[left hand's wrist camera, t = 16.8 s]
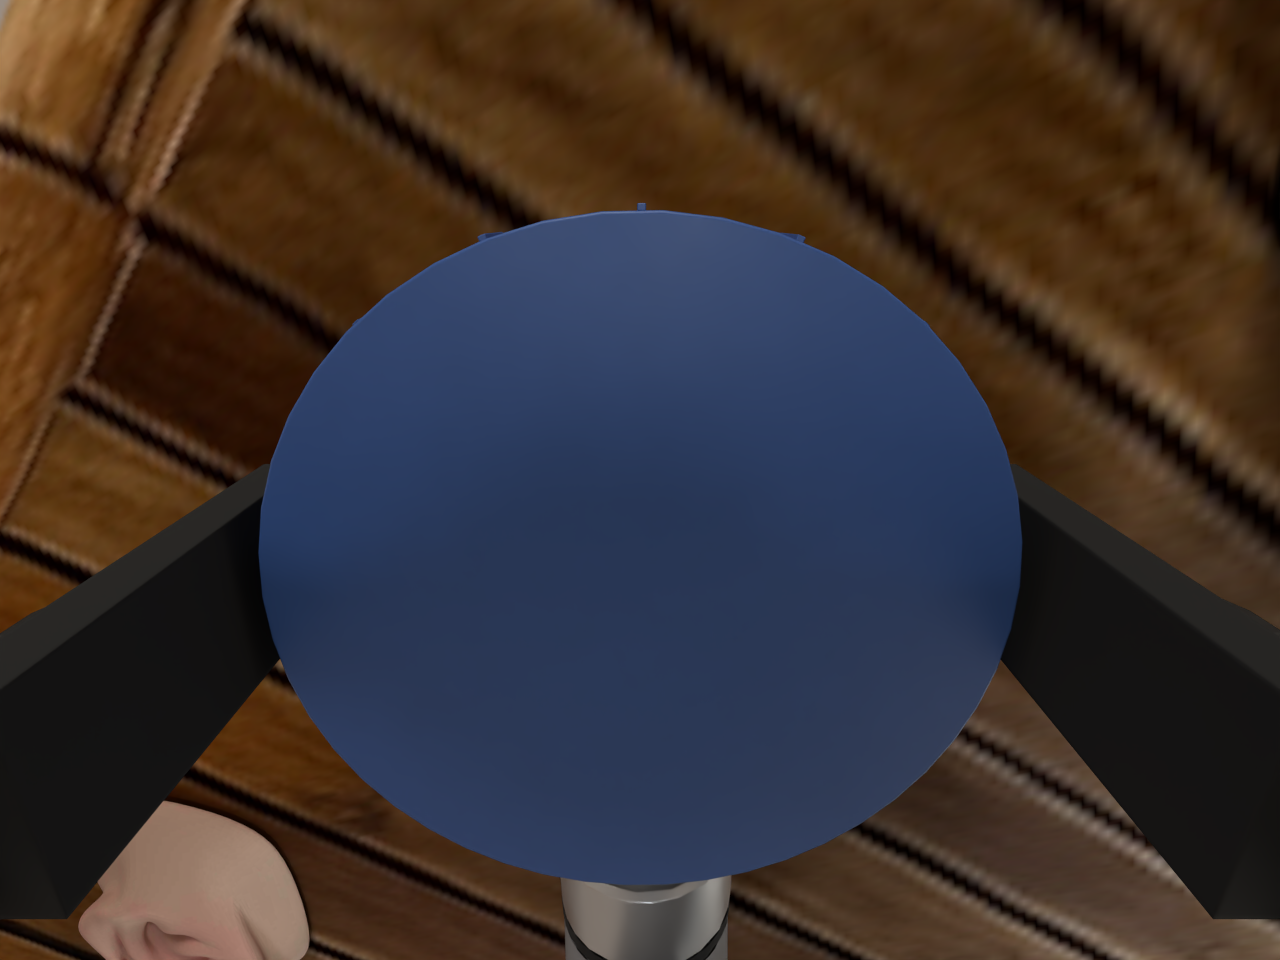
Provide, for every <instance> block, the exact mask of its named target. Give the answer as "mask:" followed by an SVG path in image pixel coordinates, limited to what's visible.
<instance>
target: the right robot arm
mask: <svg viewBox="0 0 1280 960" xmlns="http://www.w3.org/2000/svg"><path fill="white" fill-rule="evenodd" d="M561 888H562V903H563V911H564V918H565V948H566V960H727V943H728V911H729V897H730V890H731V875H730V876H725V877H720V878H715V879H710V880H704V881H695V882H686V883H676V884H667V885H618V884H606V883H594V882H583V881H578V880H572V879H566V878H561Z"/></svg>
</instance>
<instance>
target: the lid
mask: <svg viewBox="0 0 1280 960" xmlns="http://www.w3.org/2000/svg"><path fill="white" fill-rule="evenodd" d="M478 239H479V242H478V243H476V244H474V245H471V246H469V247H467V248H465V249H463V250H461V251H459V252H457V253H455V254H453V255H450V256H448V257H446V258H444V259H442V260H440V261H438V262H436V263H434V264H432V265H431V266H429V267H428V268H426V269H425V270H423V271H422V272H420V273H419V274H417V275H416V276H414V277H413V278H411V279H410V280H408V281H407V282H405V283H404V284H402V285H401V286H399V287H398V288H396V289H395V290H393V291H392V292H390V293H389V294H387V295H386V296H385V297H384V298H383V299H382V300H381V301H380V302H379V303H377V304H376V305H375V306H374V307H373V308H372V309H371V310H370V311H369V312H368V313H366V314H365V315H364V316H363V317H362V318H360V319H358V320H356V321H355V322H354V323H353V326H352V327H351V328H350V329H349V330H348V331H347V332H346V333H345V334H344V336H343V337H342V338H341V339H340V341H339V342H338V343H337V344H336V345H335V347H334V348H333V349H332V350H331V352H330V353H329V354H328V355H327V357H326V358H325V359H324V360H323V362H322V363H321V364H320V365H319V367H318V368H317V369H316V370H315V371H314V373H313V375H312V376H311V378H310V380H309V382H308V383H307V385H306V387H305V389H304V390H303V392H302V394H301V395H300V397H299V399H298V401H297V402H296V404H295V406H294V408H293V409H292V411H291V413H290V414H289V416H288V419H287V422H286V424H285V427H284V429H283V432H282V435H281V437H280V440H279V442H278V445H277V447H276V450H275V453H274V455H273V458H272V460H271V465H270V469H269V474H268V478H267V483H266V488H265V492H264V497H263V502H262V506H261V519H260V536H259V564H260V575H261V586H262V597H263V601H264V605H265V610H266V614H267V618H268V622H269V626H270V630H271V634H272V639H273V641H274V644H275V646H276V649H277V652H278V654H279V657H280V659H281V662H282V664H283V667H284V669H285V672H286V674H287V677H288V679H289V681H290V683H291V685H292V686H293V688H294V690H295V692H296V694H297V695H298V697H299V699H300V701H301V702H302V704H303V706H304V708H305V710H306V711H307V713H308V715H309V717H310V718H311V719H312V721H313V722H314V723H315V725H316V726H317V727H318V729H319V730H320V731H321V733H322V734H323V735H324V737H325V738H326V739H327V741H328V742H329V743H330V745H331V746H332V747H333V749H334V750H335V751H336V752H337V753H338V754H339V755H340V756H341V757H342V758H343V760H344V761H345V762H346V763H347V764H348V765H349V766H350V767H351V768H352V769H353V770H354V771H355V772H356V773H357V774H358V775H359V776H360V777H361V778H362V779H363V780H364V781H365V782H366V783H367V784H368V785H370V786H371V787H372V788H373V789H374V790H376V791H377V792H378V793H379V794H380V795H382V796H383V797H384V798H385V799H386V800H388V801H389V802H390V803H391V804H392V805H394V806H395V807H396V808H398V809H399V810H401V811H402V812H404V813H406V814H407V815H409V816H410V817H412V818H413V819H415V820H416V821H418V822H419V823H421V824H422V825H424V826H425V827H427V828H428V829H430V830H432V831H434V832H436V833H438V834H440V835H441V836H443V837H445V838H447V839H449V840H451V841H453V842H455V843H457V844H459V845H461V846H463V847H465V848H467V849H469V850H472V851H474V852H477V853H480V854H482V855H485V856H487V857H490V858H492V859H495V860H497V861H500V862H502V863H505V864H509V865H512V866H516V867H519V868H523V869H526V870H530V871H533V872H537V873H541V874H544V875H550V876H555V877H561V878H566V879H572V880H578V881H583V882H594V883H606V884H618V885H667V884H676V883H686V882H695V881H704V880H710V879H715V878H720V877H725V876H730V875H735V874H739V873H744V872H749V871H752V870H755V869H758V868H761V867H765V866H768V865H771V864H774V863H777V862H781V861H784V860H787V859H789V858H792V857H794V856H796V855H799V854H801V853H803V852H806V851H808V850H811V849H813V848H815V847H818V846H820V845H822V844H825V843H826V842H828V841H830V840H832V839H834V838H836V837H837V836H839V835H841V834H843V833H845V832H846V831H848V830H850V829H852V828H854V827H855V826H857V825H859V824H861V823H862V822H864V821H865V820H867V819H868V818H869V817H871V816H872V815H874V814H875V813H877V812H878V811H879V810H881V809H882V808H884V807H885V806H887V805H888V804H889V803H891V802H892V801H894V800H895V799H896V798H897V797H898V796H899V795H901V794H902V793H903V792H904V791H905V790H906V789H907V788H909V787H910V786H911V785H912V784H913V783H914V782H915V781H916V780H918V779H919V778H920V777H921V776H922V775H923V774H924V773H926V771H927V770H928V769H929V768H930V767H931V766H932V765H933V764H934V763H935V761H936V760H937V759H938V758H939V757H940V756H941V755H942V754H943V752H944V751H945V750H946V749H947V748H948V747H949V746H950V745H951V744H952V742H953V741H954V740H955V738H956V737H957V736H958V734H959V733H960V731H961V730H962V728H963V727H964V725H965V724H966V723H967V721H968V720H969V718H970V717H971V715H972V714H973V713H974V711H975V710H976V708H977V707H978V705H979V703H980V701H981V699H982V697H983V695H984V693H985V691H986V689H987V687H988V685H989V684H990V682H991V680H992V678H993V676H994V674H995V672H996V670H997V668H998V665H999V662H1000V659H1001V656H1002V654H1003V651H1004V648H1005V645H1006V642H1007V640H1008V637H1009V634H1010V631H1011V628H1012V623H1013V618H1014V613H1015V608H1016V603H1017V598H1018V593H1019V588H1020V576H1021V558H1022V533H1021V523H1020V513H1019V502H1018V494H1017V490H1016V487H1015V483H1014V479H1013V475H1012V471H1011V467H1010V463H1009V459H1008V456H1007V452H1006V448H1005V446H1004V444H1003V441H1002V439H1001V437H1000V435H999V432H998V430H997V428H996V425H995V423H994V421H993V418H992V416H991V414H990V411H989V409H988V407H987V405H986V403H985V401H984V400H983V398H982V397H981V395H980V393H979V392H978V390H977V389H976V387H975V385H974V384H973V382H972V381H971V379H970V378H969V376H968V374H967V373H966V371H965V370H964V368H963V367H962V365H961V363H960V362H959V361H958V359H957V358H956V357H955V356H954V355H953V354H952V353H951V351H950V350H949V349H948V348H947V347H946V346H945V344H944V343H943V342H942V341H941V340H940V339H939V338H938V336H937V335H936V334H935V333H934V332H933V331H932V330H931V328H930V326H929V325H928V324H927V322H926V321H923V320H922V319H921V318H920V317H918V316H917V315H916V314H915V313H914V312H913V311H911V310H910V309H909V308H908V307H907V306H905V305H904V304H903V303H902V302H901V301H900V300H898V299H897V298H896V297H895V296H894V295H892V294H891V293H890V292H889V291H888V290H887V289H885V288H884V287H883V286H881V285H880V284H878V283H877V282H875V281H873V280H872V279H870V278H869V277H867V276H865V275H864V274H862V273H860V272H859V271H857V270H856V269H854V268H852V267H851V266H849V265H847V264H846V263H844V262H843V261H841V260H839V259H838V258H836V257H835V256H832V255H830V254H828V253H825V252H823V251H821V250H818V249H816V248H814V247H811V246H809V245H807V244H804V240H805V237H803V236H801V235H797V234H787V233H778V232H774V231H770V230H767V229H763V228H759V227H756V226H752V225H748V224H745V223H741V222H737V221H734V220H730V219H726V218H722V217H714V216H705V215H697V214H689V213H681V212H673V211H665V210H651V211H646V203H638V204H637V211H602V212H595V213H589V214H583V215H577V216H570V217H564V218H558V219H552V220H545V221H541V222H538V223H535V224H531V225H528V226H525V227H522V228H518V229H515V230H512V231H509V232H505V233H503V232H498V233H487V234H483V235H480V236H478Z"/></svg>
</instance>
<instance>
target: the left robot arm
mask: <svg viewBox="0 0 1280 960" xmlns="http://www.w3.org/2000/svg"><path fill="white" fill-rule="evenodd" d="M1279 217H1280V181H1279ZM270 465H271V464H264V465H262V466H261V467H259V468H258V469H256V470H254V471H253V472H251V473H250V474H248V475H247V476H245V477H244V478H242V479H241V480H239V481H238V482H236V483H235V484H233V485H232V486H230V487H228V488H227V489H225V490H224V491H222V492H221V493H219V494H218V495H216V496H215V497H213V498H212V499H210V500H209V501H207V502H206V503H204V504H202V505H201V506H199V507H198V508H196V509H195V510H193V511H192V512H190V513H189V514H187V515H186V516H184V517H183V518H181V519H180V520H178V521H176V522H175V523H173V524H172V525H170V526H169V527H167V528H166V529H164V530H163V531H161V532H160V533H158V534H157V535H155V536H154V537H152V538H150V539H149V540H147V541H146V542H144V543H143V544H141V545H140V546H138V547H137V548H135V549H134V550H132V551H131V552H129V553H128V554H126V555H124V556H123V557H121V558H120V559H118V560H117V561H115V562H114V563H112V564H111V565H109V566H108V567H106V568H105V569H103V570H102V571H100V572H98V573H97V574H95V575H94V576H92V577H91V578H89V579H88V580H86V581H85V582H83V583H82V584H80V585H79V586H77V587H76V588H74V589H72V590H71V591H69V592H68V593H66V594H65V595H63V596H62V597H60V598H59V599H57V600H56V601H54V602H53V603H51V604H50V605H48V606H46V607H45V608H43V609H40V610H38V611H36V612H33V613H31V614H29V615H28V616H26V617H25V618H23V619H22V620H20V621H19V622H17V623H16V624H14V625H13V626H11V627H9V628H8V629H6V630H5V631H3V632H2V633H0V919H67V918H68V917H69V916H70V915H71V913H72V912H73V911H74V910H75V908H76V907H77V906H78V905H79V904H80V902H81V901H82V900H83V899H84V897H85V896H86V895H87V894H88V893H89V891H90V890H91V889H92V888H93V886H94V885H95V884H96V883H97V882H98V880H99V879H100V878H101V877H102V875H103V874H104V873H105V872H106V871H107V869H108V868H109V867H110V866H111V864H112V863H113V862H114V861H115V860H116V858H117V857H118V856H119V855H120V853H121V852H122V851H123V850H124V849H125V847H126V846H127V845H128V844H129V842H130V841H131V840H132V839H133V838H134V836H135V835H136V834H137V833H138V831H139V830H140V829H141V828H142V827H143V825H144V824H145V823H146V822H147V820H148V819H149V818H150V817H151V816H152V814H153V813H154V812H155V811H156V809H157V808H158V807H159V806H160V805H161V803H162V802H163V801H164V800H165V798H166V797H167V796H168V795H169V794H170V792H171V791H172V790H173V789H174V787H175V786H176V785H177V784H178V783H179V781H180V780H181V779H182V778H183V776H184V775H185V774H186V773H187V772H188V770H189V769H190V768H191V767H192V765H193V764H194V763H195V762H196V761H197V759H198V758H199V757H200V756H201V754H202V753H203V752H204V751H205V750H206V748H207V747H208V746H209V745H210V743H211V742H212V741H213V740H214V739H215V737H216V736H217V735H218V734H219V732H220V731H221V730H222V729H223V728H224V726H225V725H226V724H227V723H228V721H229V720H230V719H231V718H232V717H233V715H234V714H235V713H236V712H237V710H238V709H239V708H240V707H241V706H242V704H243V703H244V702H245V701H246V699H247V698H248V697H249V696H250V695H251V693H252V692H253V691H254V690H255V688H256V687H257V686H258V685H259V684H260V682H261V681H262V680H263V679H264V677H265V676H266V675H267V674H268V673H269V671H270V670H271V669H272V668H273V666H274V665H275V664H276V663H277V662H278V660H279V659H280V657H279V654H278V652H277V649H276V646H275V644H274V641H273V639H272V634H271V630H270V626H269V622H268V618H267V614H266V610H265V605H264V601H263V597H262V586H261V575H260V564H259V536H260V519H261V506H262V502H263V497H264V492H265V488H266V483H267V478H268V474H269V469H270ZM1010 467H1011V471H1012V475H1013V479H1014V483H1015V487H1016V490H1017V494H1018V502H1019V513H1020V523H1021V533H1022V558H1021V576H1020V588H1019V593H1018V598H1017V603H1016V608H1015V613H1014V618H1013V623H1012V628H1011V631H1010V634H1009V637H1008V640H1007V642H1006V645H1005V648H1004V651H1003V654H1002V656H1001V660H1002V662H1003V663H1004V664H1005V665H1006V666H1007V668H1008V669H1009V670H1010V671H1011V673H1012V674H1013V675H1014V676H1015V677H1016V679H1017V680H1018V681H1019V682H1020V684H1021V685H1022V686H1023V687H1024V688H1025V690H1026V691H1027V692H1028V693H1029V695H1030V696H1031V697H1032V698H1033V699H1034V701H1035V702H1036V703H1037V704H1038V706H1039V707H1040V708H1041V709H1042V710H1043V712H1044V713H1045V714H1046V715H1047V717H1048V718H1049V719H1050V720H1051V721H1052V723H1053V724H1054V725H1055V726H1056V728H1057V729H1058V730H1059V731H1060V732H1061V734H1062V735H1063V736H1064V737H1065V739H1066V740H1067V741H1068V742H1069V743H1070V745H1071V746H1072V747H1073V748H1074V750H1075V751H1076V752H1077V753H1078V754H1079V756H1080V757H1081V758H1082V759H1083V761H1084V762H1085V763H1086V764H1087V765H1088V767H1089V768H1090V769H1091V770H1092V772H1093V773H1094V774H1095V775H1096V776H1097V778H1098V779H1099V780H1100V781H1101V783H1102V784H1103V785H1104V786H1105V787H1106V789H1107V790H1108V791H1109V792H1110V794H1111V795H1112V796H1113V797H1114V798H1115V800H1116V801H1117V802H1118V803H1119V805H1120V806H1121V807H1122V808H1123V809H1124V811H1125V812H1126V813H1127V814H1128V816H1129V817H1130V818H1131V819H1132V820H1133V822H1134V823H1135V824H1136V825H1137V827H1138V828H1139V829H1140V830H1141V831H1142V833H1143V834H1144V835H1145V836H1146V838H1147V839H1148V840H1149V841H1150V842H1151V844H1152V845H1153V846H1154V847H1155V849H1156V850H1157V851H1158V852H1159V853H1160V855H1161V856H1162V857H1163V858H1164V860H1165V861H1166V862H1167V863H1168V864H1169V866H1170V867H1171V868H1172V869H1173V871H1174V872H1175V873H1176V874H1177V875H1178V877H1179V878H1180V879H1181V880H1182V882H1183V883H1184V884H1185V885H1186V886H1187V888H1188V889H1189V890H1190V891H1191V893H1192V894H1193V895H1194V896H1195V897H1196V899H1197V900H1198V901H1199V902H1200V904H1201V905H1202V906H1203V907H1204V908H1205V910H1206V911H1207V912H1208V913H1209V915H1210V916H1211V917H1212V918H1213V919H1280V630H1279V629H1277V628H1276V627H1274V626H1273V625H1271V624H1270V623H1268V622H1267V621H1265V620H1263V619H1262V618H1260V617H1259V616H1257V615H1256V614H1254V613H1253V612H1251V611H1249V610H1247V609H1245V608H1242V607H1240V606H1238V605H1235V604H1233V603H1231V602H1228V601H1226V600H1224V599H1221V598H1220V597H1218V596H1217V595H1215V594H1214V593H1212V592H1211V591H1209V590H1208V589H1206V588H1204V587H1203V586H1201V585H1200V584H1198V583H1197V582H1195V581H1194V580H1192V579H1191V578H1189V577H1188V576H1186V575H1185V574H1183V573H1182V572H1180V571H1178V570H1177V569H1175V568H1174V567H1172V566H1171V565H1169V564H1168V563H1166V562H1165V561H1163V560H1162V559H1160V558H1159V557H1157V556H1156V555H1154V554H1152V553H1151V552H1149V551H1148V550H1146V549H1145V548H1143V547H1142V546H1140V545H1139V544H1137V543H1136V542H1134V541H1133V540H1131V539H1130V538H1128V537H1126V536H1125V535H1123V534H1122V533H1120V532H1119V531H1117V530H1116V529H1114V528H1113V527H1111V526H1110V525H1108V524H1107V523H1105V522H1104V521H1102V520H1100V519H1099V518H1097V517H1096V516H1094V515H1093V514H1091V513H1090V512H1088V511H1087V510H1085V509H1084V508H1082V507H1081V506H1079V505H1078V504H1076V503H1074V502H1073V501H1071V500H1070V499H1068V498H1067V497H1065V496H1064V495H1062V494H1061V493H1059V492H1058V491H1056V490H1055V489H1053V488H1052V487H1050V486H1048V485H1047V484H1045V483H1044V482H1042V481H1041V480H1039V479H1038V478H1036V477H1035V476H1033V475H1032V474H1030V473H1029V472H1027V471H1026V470H1024V469H1022V468H1021V467H1019V466H1018V465H1016V464H1010Z"/></svg>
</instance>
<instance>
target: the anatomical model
mask: <svg viewBox="0 0 1280 960" xmlns="http://www.w3.org/2000/svg"><path fill="white" fill-rule="evenodd" d="M98 884H99V885H100V887H101V889H102V891H103V894H102V896H101V897H100V898H99V899H98V900H97V901H95V902H94V903H93V904H92V905H91V906H90V907H89V908H88V909H87V910H86V911H85V912H84V914H83V915H82V917H81V919H80V921H79V931H80V933H81V935H82V936H83V938H84V939H85V940H86V941H87V942H88V943H89V944H90V945H91V946H92V947H93V948H94V949H95V950H96V951H97V952H99V953H100V954H101V955H102V956H103V957H104V958H105V959H106V960H300V959H301V958H302V957H303V956H304V955H305V953H306V951H307V949H308V946H309V929H308V923H307V918H306V914H305V911H304V907H303V903H302V900H301V897H300V895H299V892H298V889H297V886H296V884H295V881H294V879H293V877H292V874H291V872H290V870H289V869H288V867H287V865H286V863H285V861H284V860H283V858H282V857H281V855H280V854H279V852H278V851H277V850H276V848H275V847H274V846H273V845H272V844H271V843H270V842H269V841H267V840H266V839H265V838H264V837H263V836H261V835H260V834H258V833H257V832H255V831H254V830H252V829H250V828H248V827H247V826H245V825H243V824H240V823H238V822H236V821H234V820H231V819H229V818H226V817H223V816H221V815H218V814H215V813H212V812H209V811H205V810H202V809H198V808H195V807H191V806H187V805H182V804H178V803H174V802H168V801H163V802H162V803H161V805H160V806H159V807H158V808H157V809H156V811H155V812H154V813H153V814H152V816H151V817H150V818H149V819H148V820H147V822H146V823H145V824H144V825H143V827H142V828H141V829H140V830H139V831H138V833H137V834H136V835H135V836H134V838H133V839H132V840H131V841H130V842H129V844H128V845H127V846H126V847H125V849H124V850H123V851H122V852H121V853H120V855H119V856H118V857H117V858H116V860H115V861H114V862H113V863H112V864H111V866H110V867H109V868H108V869H107V871H106V872H105V873H104V874H103V875H102V877H101V878H100V879H99V880H98Z"/></svg>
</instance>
